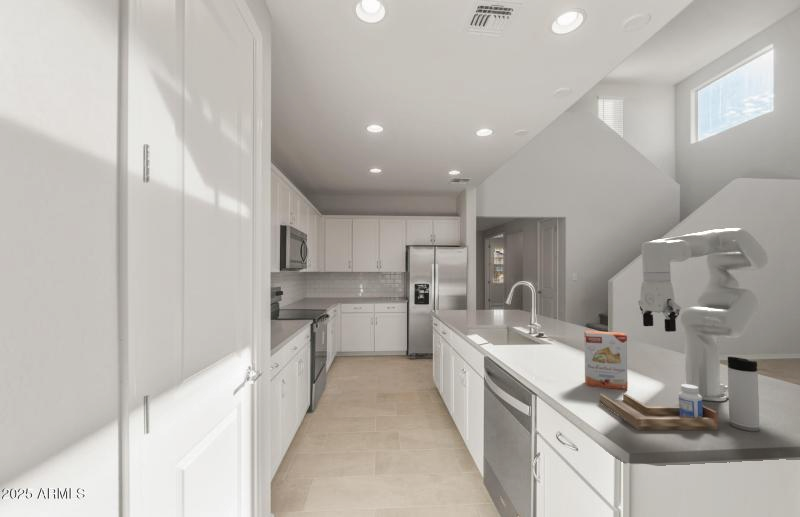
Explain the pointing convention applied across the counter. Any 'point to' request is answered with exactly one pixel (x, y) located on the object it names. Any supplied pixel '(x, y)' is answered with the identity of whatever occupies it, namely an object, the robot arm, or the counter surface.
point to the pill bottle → (690, 402)
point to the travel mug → (743, 394)
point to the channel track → (659, 415)
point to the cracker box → (606, 359)
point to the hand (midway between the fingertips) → (659, 328)
